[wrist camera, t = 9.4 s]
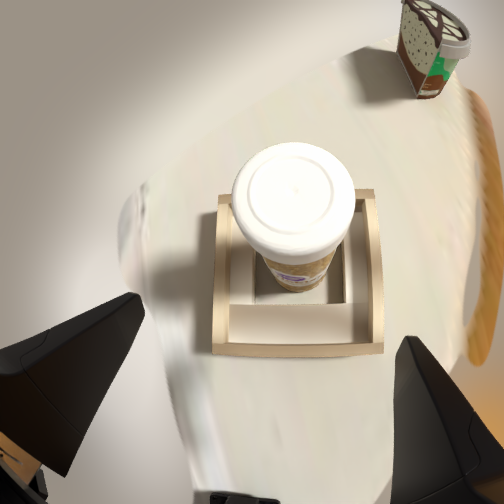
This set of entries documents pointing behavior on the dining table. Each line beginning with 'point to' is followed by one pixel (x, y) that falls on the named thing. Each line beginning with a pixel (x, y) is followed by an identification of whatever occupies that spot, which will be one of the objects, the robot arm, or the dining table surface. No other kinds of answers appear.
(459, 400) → the robot arm
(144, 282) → the dining table surface
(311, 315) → the box
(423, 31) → the food container
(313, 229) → the sprinkles bottle
